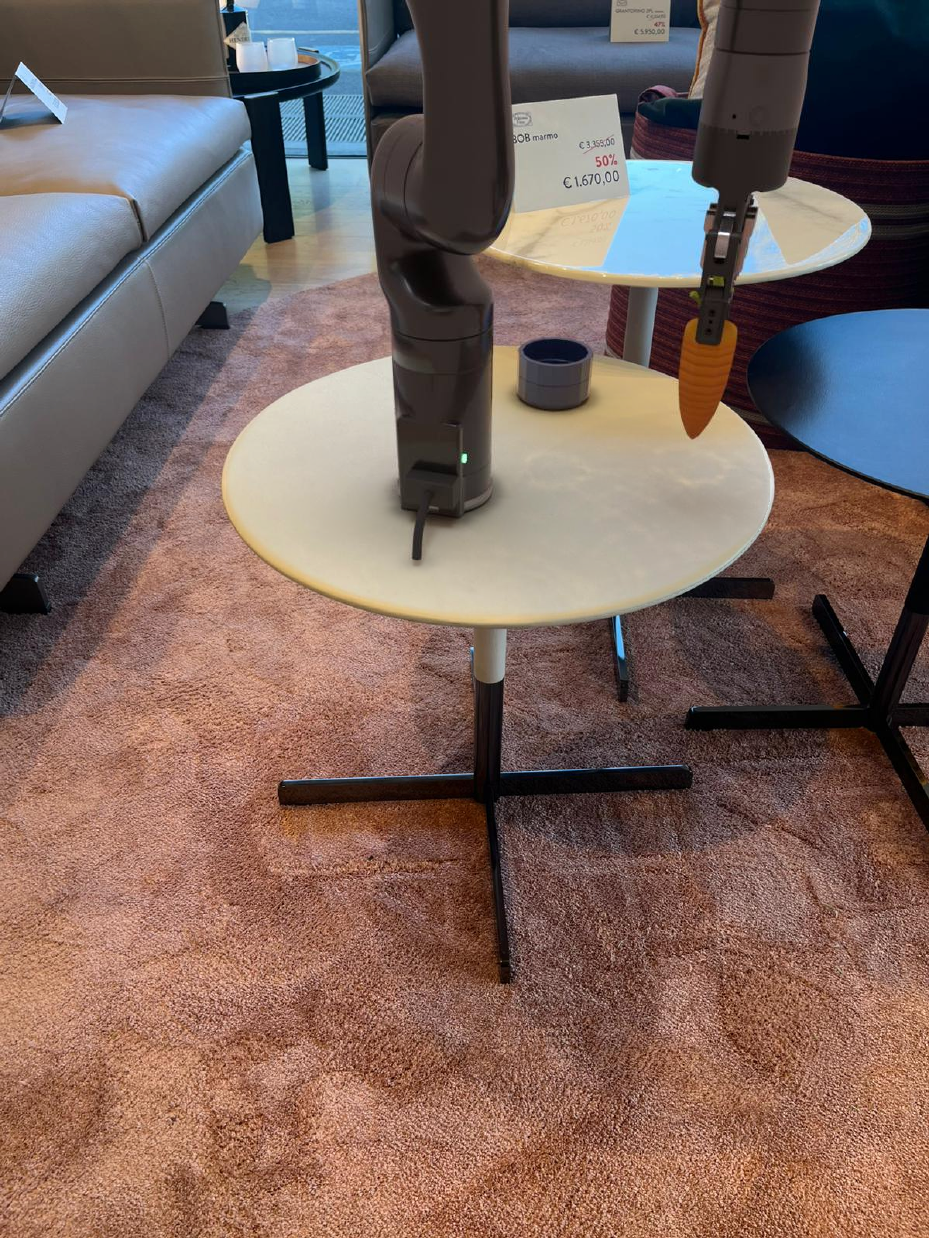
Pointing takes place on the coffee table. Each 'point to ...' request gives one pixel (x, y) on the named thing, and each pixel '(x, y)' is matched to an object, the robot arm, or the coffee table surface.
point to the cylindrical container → (554, 372)
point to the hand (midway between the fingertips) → (711, 332)
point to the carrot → (703, 373)
